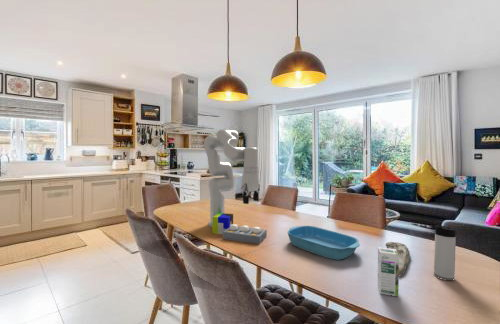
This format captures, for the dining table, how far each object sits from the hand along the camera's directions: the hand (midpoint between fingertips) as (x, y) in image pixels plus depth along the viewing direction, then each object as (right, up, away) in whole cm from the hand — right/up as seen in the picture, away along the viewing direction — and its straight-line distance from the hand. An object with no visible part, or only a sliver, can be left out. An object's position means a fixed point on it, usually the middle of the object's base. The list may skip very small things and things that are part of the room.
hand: (251, 202), depth 132 cm
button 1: (-10, -19, +10) cm, 24 cm away
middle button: (-4, -19, +8) cm, 21 cm away
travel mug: (+75, -23, -36) cm, 86 cm away
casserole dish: (+36, -23, -7) cm, 43 cm away
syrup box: (+47, -24, -46) cm, 70 cm away
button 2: (+3, -19, +5) cm, 20 cm away
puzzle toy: (-17, -22, +20) cm, 34 cm away
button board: (-4, -22, +8) cm, 23 cm away
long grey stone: (+66, -23, -21) cm, 73 cm away
